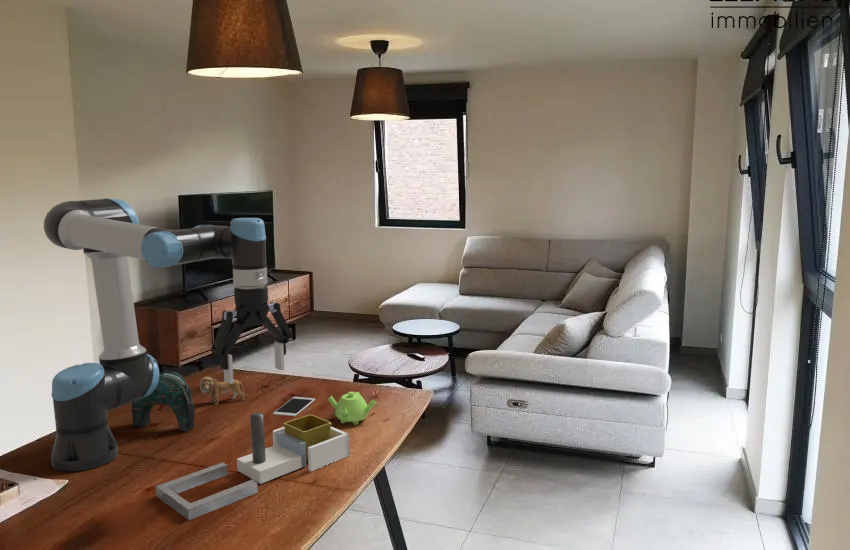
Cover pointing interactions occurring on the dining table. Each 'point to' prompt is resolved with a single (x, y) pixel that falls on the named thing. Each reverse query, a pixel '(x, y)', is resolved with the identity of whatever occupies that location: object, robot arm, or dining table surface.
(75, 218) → the robot arm
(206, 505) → the rail base
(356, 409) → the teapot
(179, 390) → the teal arched figure
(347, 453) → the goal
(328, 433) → the flower pot
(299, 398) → the smartphone
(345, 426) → the dining table surface
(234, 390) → the lion figurine
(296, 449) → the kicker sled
